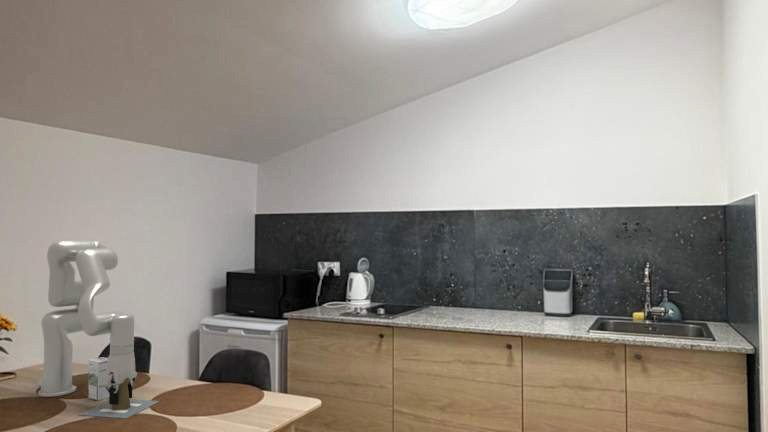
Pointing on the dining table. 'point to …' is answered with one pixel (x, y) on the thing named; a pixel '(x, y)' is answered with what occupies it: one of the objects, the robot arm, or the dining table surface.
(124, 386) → the cork
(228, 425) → the dining table surface
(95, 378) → the syrup box
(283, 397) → the dining table surface
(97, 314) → the robot arm
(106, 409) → the letter sheet
